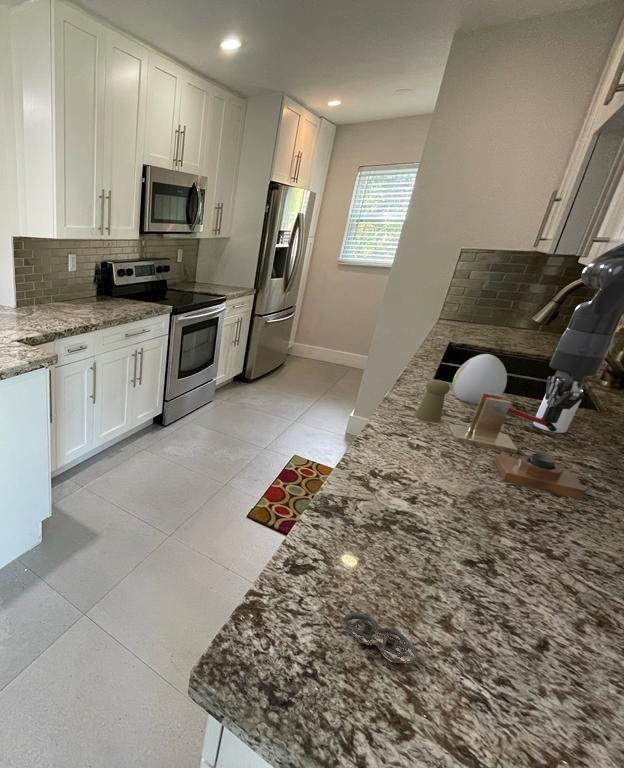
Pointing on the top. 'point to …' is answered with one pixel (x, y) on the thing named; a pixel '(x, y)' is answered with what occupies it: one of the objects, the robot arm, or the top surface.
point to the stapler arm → (531, 418)
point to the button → (542, 461)
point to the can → (563, 419)
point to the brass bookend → (486, 425)
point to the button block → (538, 476)
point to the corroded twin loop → (380, 630)
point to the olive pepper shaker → (433, 401)
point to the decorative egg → (479, 378)
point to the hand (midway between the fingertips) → (548, 421)
